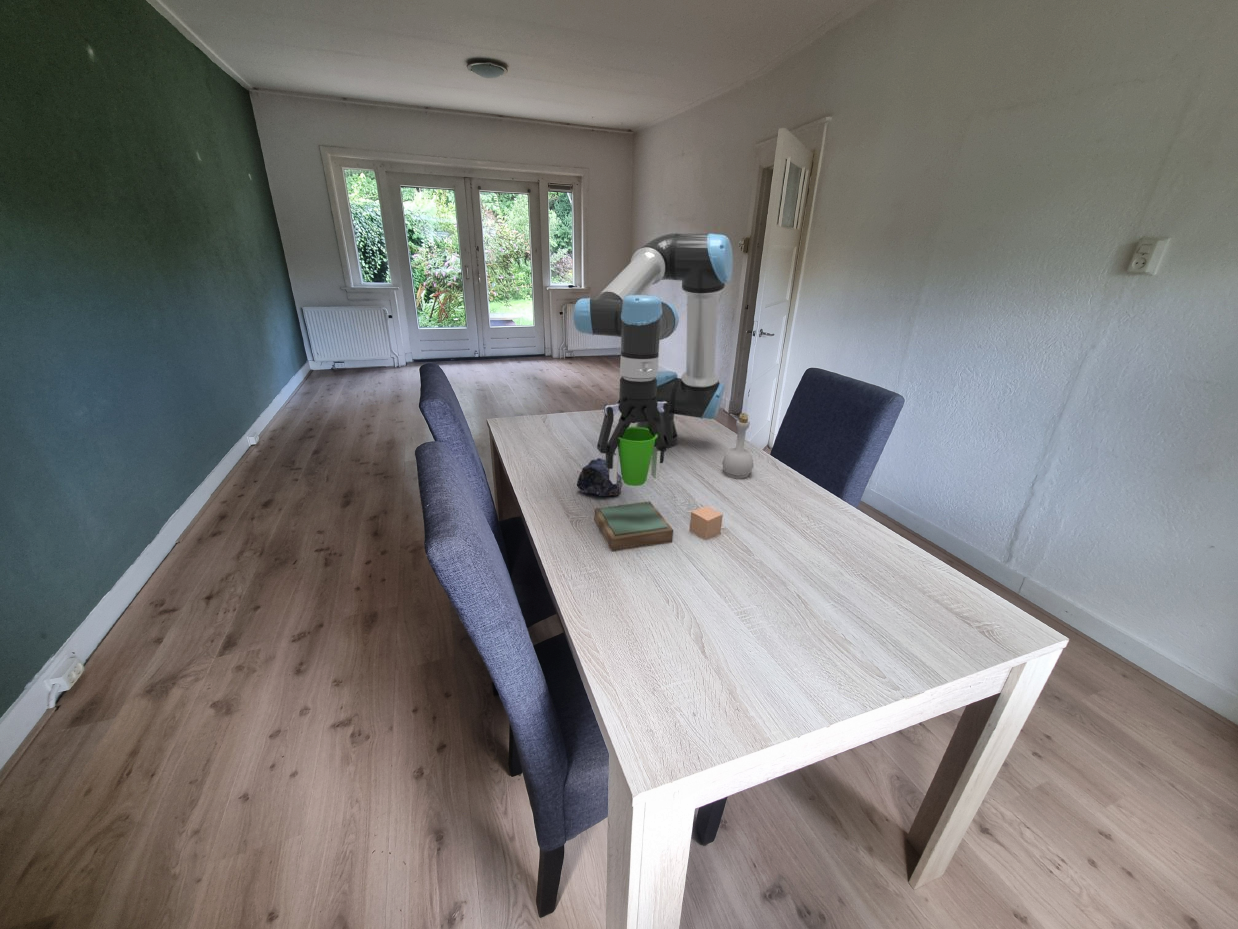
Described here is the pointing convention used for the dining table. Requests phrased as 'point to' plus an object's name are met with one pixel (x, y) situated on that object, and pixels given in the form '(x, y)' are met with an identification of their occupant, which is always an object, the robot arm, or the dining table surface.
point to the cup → (635, 454)
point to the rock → (598, 479)
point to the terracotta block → (706, 522)
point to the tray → (632, 526)
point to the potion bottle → (739, 453)
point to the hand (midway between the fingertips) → (634, 478)
